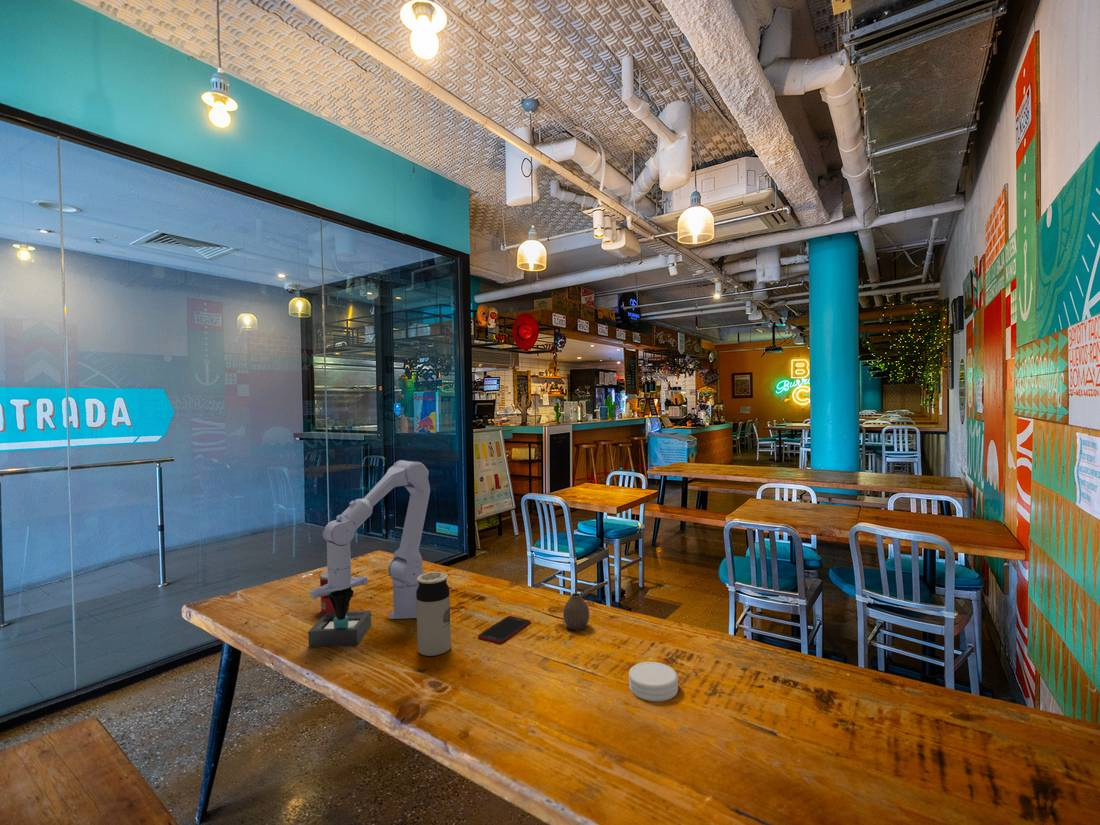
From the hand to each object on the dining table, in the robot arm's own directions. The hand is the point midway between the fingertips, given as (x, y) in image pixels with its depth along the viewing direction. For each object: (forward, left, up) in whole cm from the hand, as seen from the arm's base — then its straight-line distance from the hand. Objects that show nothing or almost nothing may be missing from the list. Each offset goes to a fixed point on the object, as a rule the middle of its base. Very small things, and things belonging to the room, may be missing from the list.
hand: (340, 618), depth 137 cm
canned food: (+8, -18, -5) cm, 20 cm away
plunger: (0, 0, -4) cm, 4 cm away
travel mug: (-26, +10, -5) cm, 28 cm away
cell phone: (-43, +1, -5) cm, 43 cm away
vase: (-62, +1, -5) cm, 62 cm away
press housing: (0, 0, -5) cm, 5 cm away
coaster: (-75, +32, -5) cm, 82 cm away
